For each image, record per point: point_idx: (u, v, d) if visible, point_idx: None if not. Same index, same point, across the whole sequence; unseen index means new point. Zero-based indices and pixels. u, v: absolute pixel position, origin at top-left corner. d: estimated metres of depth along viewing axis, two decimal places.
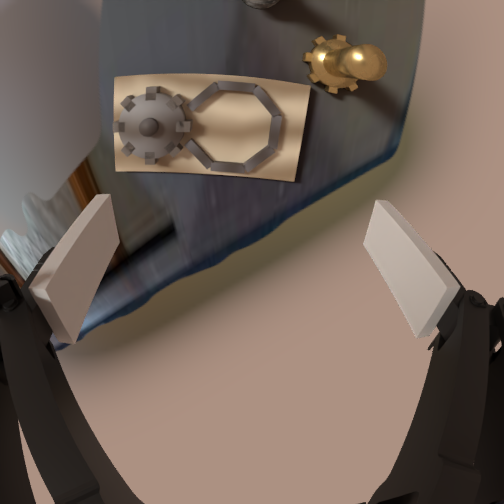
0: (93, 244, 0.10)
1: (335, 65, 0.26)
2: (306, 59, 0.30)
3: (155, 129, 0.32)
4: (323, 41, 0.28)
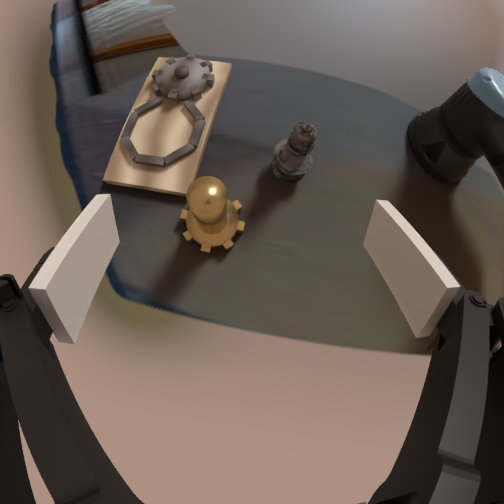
0: (93, 244, 0.10)
1: None
2: None
3: (178, 74, 0.38)
4: (235, 207, 0.38)
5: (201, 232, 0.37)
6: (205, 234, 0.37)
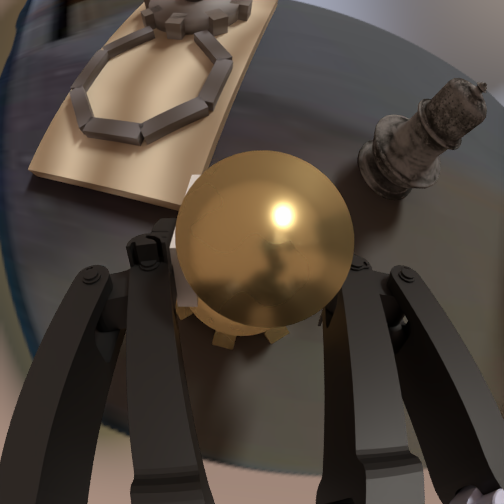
0: None
1: None
2: None
3: None
4: None
5: None
6: None
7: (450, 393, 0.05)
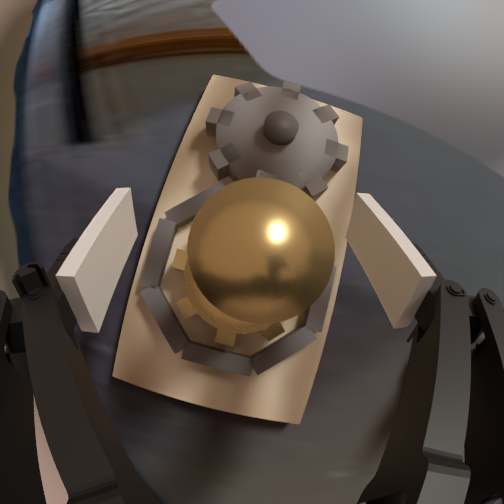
0: (116, 235, 0.11)
1: None
2: None
3: (275, 134, 0.18)
4: None
5: None
6: None
7: (503, 402, 0.05)
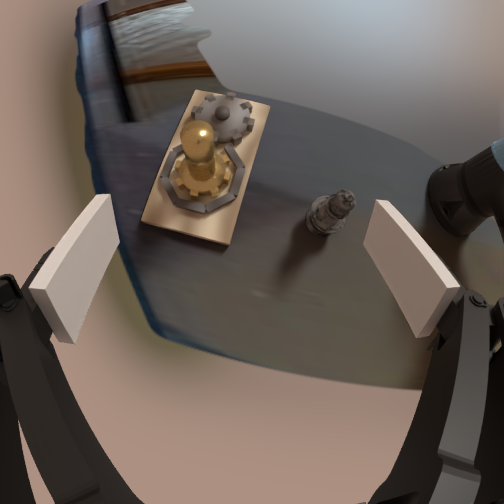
0: (93, 244, 0.10)
1: None
2: None
3: (219, 116, 0.42)
4: (223, 160, 0.42)
5: (191, 179, 0.41)
6: (195, 181, 0.41)
7: None
